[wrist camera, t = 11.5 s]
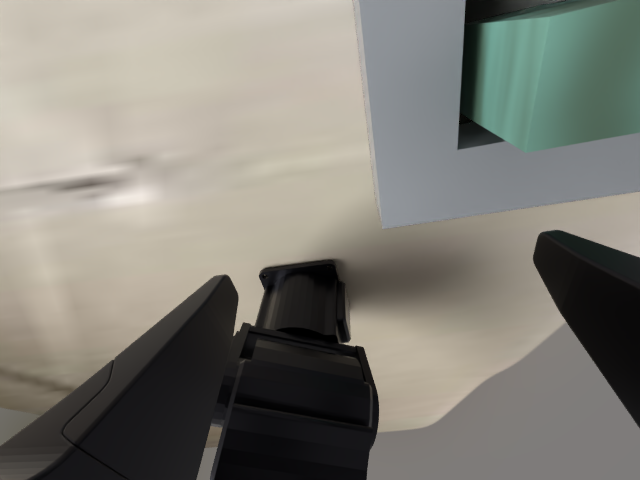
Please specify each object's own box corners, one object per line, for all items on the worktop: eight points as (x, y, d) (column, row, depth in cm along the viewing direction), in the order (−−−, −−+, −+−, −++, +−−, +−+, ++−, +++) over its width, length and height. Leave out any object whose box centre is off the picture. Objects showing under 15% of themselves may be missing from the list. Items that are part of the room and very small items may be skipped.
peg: (453, 108, 17) (525, 152, 11) (456, 25, 15) (550, 16, 8) (527, 93, 17) (653, 130, 10) (541, 4, 14) (716, -24, 8)
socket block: (375, 198, 21) (382, 229, 17) (343, -84, 13) (346, -125, 10) (598, 162, 18) (655, 189, 15) (719, -202, 11) (888, -307, 7)
